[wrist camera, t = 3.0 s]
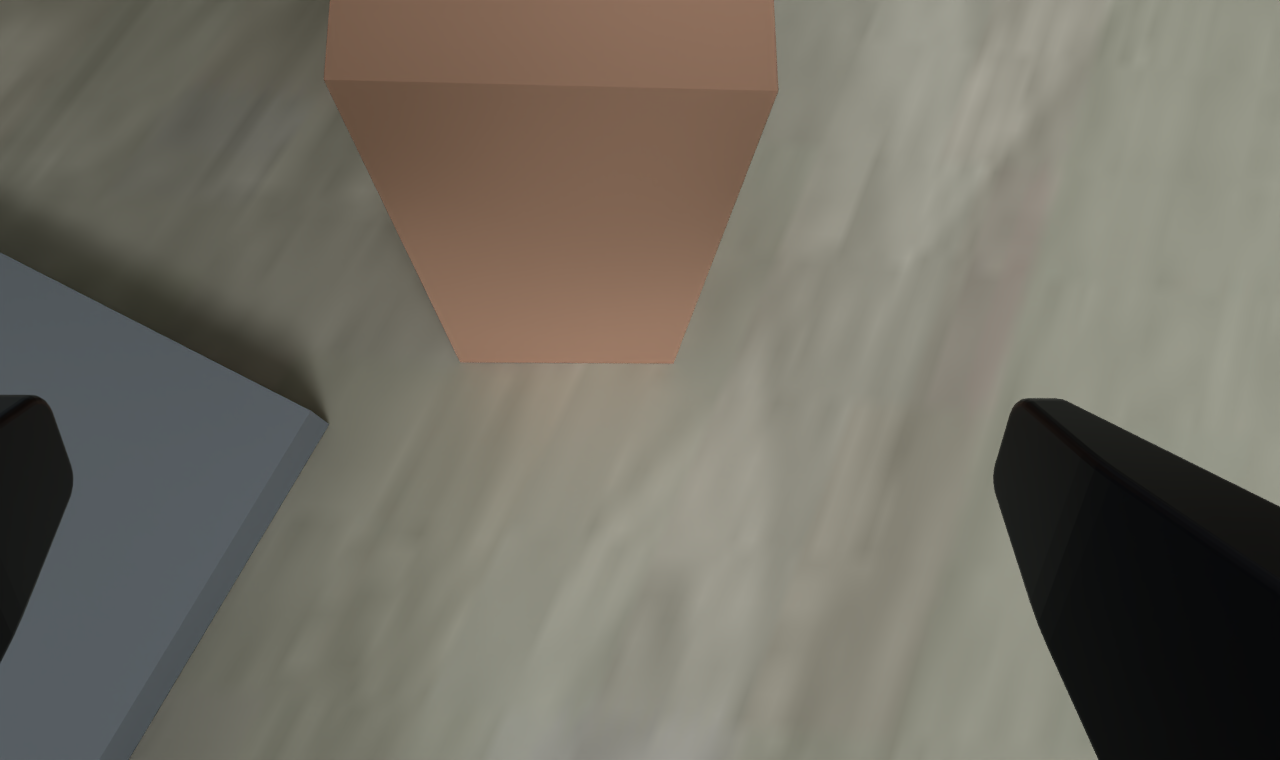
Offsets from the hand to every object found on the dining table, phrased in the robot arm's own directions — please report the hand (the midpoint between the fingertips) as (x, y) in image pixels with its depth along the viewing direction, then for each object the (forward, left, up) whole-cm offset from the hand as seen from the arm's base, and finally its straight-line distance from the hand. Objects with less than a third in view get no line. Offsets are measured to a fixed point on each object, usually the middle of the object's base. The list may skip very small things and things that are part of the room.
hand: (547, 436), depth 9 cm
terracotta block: (+3, -6, -12) cm, 14 cm away
